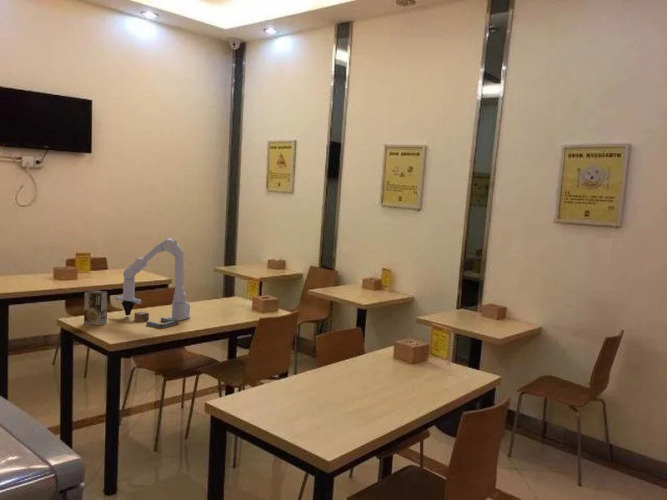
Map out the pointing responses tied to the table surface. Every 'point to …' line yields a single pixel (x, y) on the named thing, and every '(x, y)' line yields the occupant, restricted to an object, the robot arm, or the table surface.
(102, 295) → the coffee box
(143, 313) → the walnut block
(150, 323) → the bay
